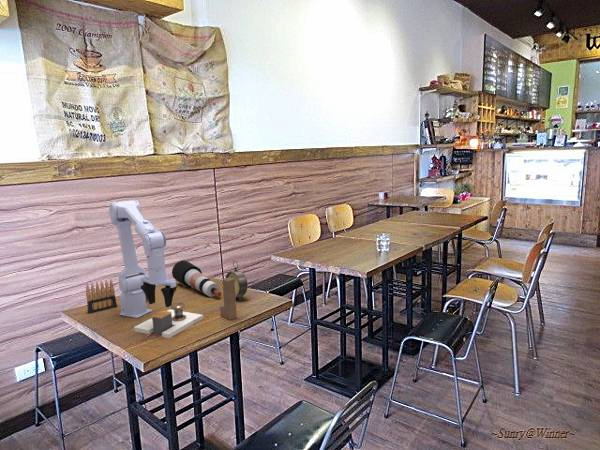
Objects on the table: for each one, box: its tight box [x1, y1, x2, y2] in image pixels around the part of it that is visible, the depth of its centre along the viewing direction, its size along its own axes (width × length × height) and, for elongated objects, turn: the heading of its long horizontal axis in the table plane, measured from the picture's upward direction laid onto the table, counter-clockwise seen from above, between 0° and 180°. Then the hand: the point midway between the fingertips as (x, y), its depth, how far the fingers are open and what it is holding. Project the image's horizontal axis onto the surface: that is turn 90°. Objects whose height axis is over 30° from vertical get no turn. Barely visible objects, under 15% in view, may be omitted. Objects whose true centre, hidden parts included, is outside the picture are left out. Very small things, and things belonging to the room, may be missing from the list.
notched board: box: [133, 308, 204, 339], centre depth 156 cm, size 16×18×2 cm
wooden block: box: [219, 277, 238, 321], centre depth 160 cm, size 7×3×15 cm, turn 40°
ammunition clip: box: [85, 278, 118, 315], centre depth 173 cm, size 11×2×12 cm, turn 128°
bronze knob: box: [170, 302, 186, 321], centre depth 157 cm, size 5×5×5 cm
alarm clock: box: [225, 260, 248, 302], centre depth 180 cm, size 11×5×16 cm, turn 42°
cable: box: [171, 260, 223, 298], centre depth 193 cm, size 10×34×10 cm, turn 41°
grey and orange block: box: [151, 310, 173, 336], centre depth 150 cm, size 4×5×7 cm
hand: (160, 304), depth 150 cm, fingers open, 7 cm apart
